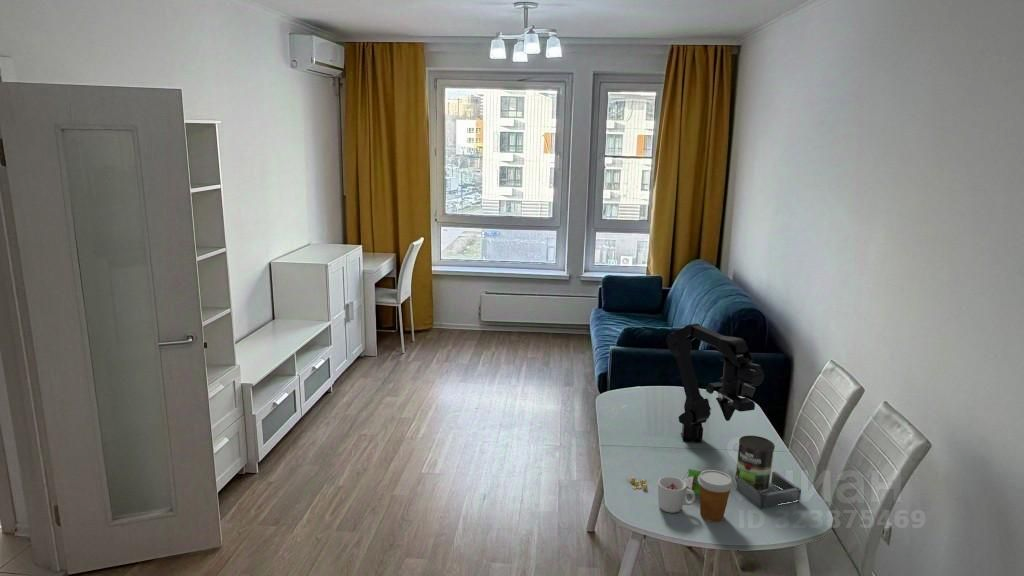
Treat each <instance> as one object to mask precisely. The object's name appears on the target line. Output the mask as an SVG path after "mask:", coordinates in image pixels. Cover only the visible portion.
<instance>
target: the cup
mask: <svg viewBox="0 0 1024 576" xmlns="http://www.w3.org/2000/svg"><path fill="white" fill-rule="evenodd" d="M658 479H659V480H657V494H658V495H657V497H658V498H657V501H658V506H659V508H660V509H661V510H662V511H664V512H667V513H671V514H675V513H678V512H680V511H681V510H682V508H683V506H692V505H694V504H695V501H696V495H697V494H695V493H694V491H692V490H690V489H687V488H686V487H687V486H686V483H685V482H684V481H683V479H682V478H681V479H680V478H678V477H675V476H663V477H660V478H658ZM689 494H690V495H691V496H692V499H691V500H690V501H688V499H687V498H686V496H687V495H689Z"/></svg>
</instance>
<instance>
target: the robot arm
mask: <svg viewBox="0 0 1024 576" xmlns="http://www.w3.org/2000/svg"><path fill="white" fill-rule="evenodd" d="M695 339H697V340H699V341H701V342H703V343H706V344H707V345H709V346H712V347H715V348H716V349H717V350H718V352H719V354H721V355H722V356H720V357H719V358H718V360H719V361H722V362H723V372H722V377H719V381H718V382H709V383H708V384H707V385H706V386H705V387H706V388H705V391H706V392H707V393H708V394H710V395H713V394H714V391H715V392H716V393H717V397H716V398H715V400H716V401H717V403H718V406H719V408H720V410H721V412H722V415H723V417H724V420H725V421H727V422H729V421H731V419H732V417H733V415H734V412H735V411H738V412H741V413H742V412H749V411H754V410H755V407H756V403H755V401H753V400H751V399H749V397H751V398H753V396H754V393H755V391H756V387H759V386H761V384H762V383H763V382H764V379H765V373H764V370H763V369H762V366H761V364H759V363H754V358H753V356H752V354H751V352H750V349H749V347H748V345H747V342H746V341H745V340H744V339H743V338H742V337H736V336H728V335H727V336H726V335H723V334H720V333H718V332H716V331H713V330H712V329H709V328H707V327H705V326H702V325H701V324H699V323H696V322H695V323H690V324H687V325H685V326H684V327H682V328H681V329H678V330H677V331H675V332H670V333H668V335H667V337H666V338H665V342H666V345H667V348H668V350H669V352H670V353H671V354H672V355H673V357H674V358H675V359H676V364H677V367H678V370H679V374H680V375H679V376H680V378H681V382H682V385H683V389H684V390H683V391H684V395H685V402H684V405H683V408H684V412H683V413H681V414H680V415H678V421H679V423H680V424H682V425H681V426H682V428H681V432H680V436H681V439H682V442H684V443H685V442H686V443H699V444H700V443H701V444H702V439H703V438H704V437H703V436H704V435H703V434H704V427H703V423H707V420H708V419H709V418H710V416H711V410H712V408H711V407H710V402H709V401H710V400H709V399H708V398H704V397H703V396H702V394H701V392H700V388H699V384H698V380H697V377H696V372H695V370H694V366H693V361H692V359H691V352H692V349H693V348H692V347H693V343H692V341H693V340H695ZM744 395H746V396H749V397H744Z"/></svg>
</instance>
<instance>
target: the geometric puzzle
mask: <svg viewBox="0 0 1024 576" xmlns="http://www.w3.org/2000/svg"><path fill="white" fill-rule="evenodd" d="M701 472H702V471H698V470H695V469H690V468H689V469H688V470H687V472H686V474H685V475H684V477H683V478H682V480H683V481H684V482H685V483H686V488H687V489H690V490H692V491H694V493H695V495H699V496H700V493H699V492H700V491H699V482H698V476H700V473H701ZM686 475H687V476H686Z"/></svg>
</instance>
